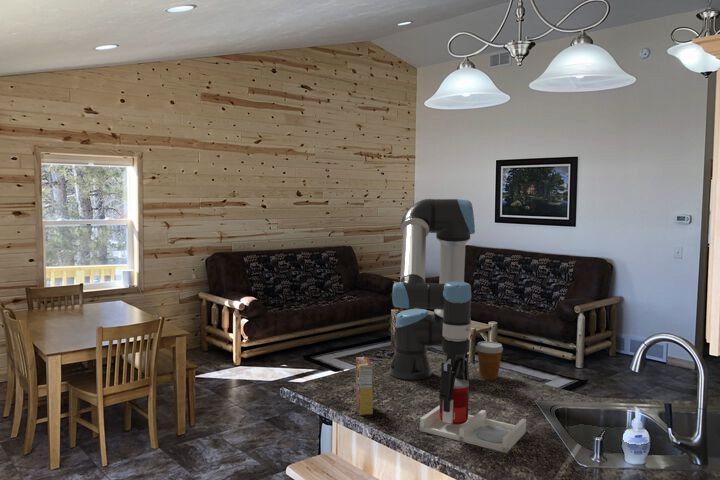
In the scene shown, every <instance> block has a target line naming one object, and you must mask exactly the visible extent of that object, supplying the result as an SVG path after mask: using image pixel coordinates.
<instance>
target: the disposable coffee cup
mask: <svg viewBox="0 0 720 480" xmlns="http://www.w3.org/2000/svg"><path fill="white" fill-rule="evenodd" d="M475 348H476V350H477V357H478V358H477V359H478V371H479V377H480V378H482V379H484V380H497V379H498V376H499V369H500V365H501V359H502V353H503V350H504V348H503V345H502V343H499V342H496V341H485V340H484V341H479V342H477V345H476V346H475Z"/></svg>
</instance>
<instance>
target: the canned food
mask: <svg viewBox="0 0 720 480" xmlns="http://www.w3.org/2000/svg"><path fill="white" fill-rule="evenodd" d="M440 383H441V381H440ZM440 383H439V384H440ZM469 398H470V381H469V382H468V381H467V380H465V379H464V380H461V379H457V378H455V384H454V388H453V395H452V400H453V423H452V424H454V425H458V424H463V423H466V422H467V419H468V414H469V405H470V404H469V401H470V399H469ZM439 405H440V419H441V421H443V399H439ZM444 423H446V422H444ZM447 424H450V423H447Z"/></svg>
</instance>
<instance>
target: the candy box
mask: <svg viewBox="0 0 720 480" xmlns="http://www.w3.org/2000/svg"><path fill="white" fill-rule="evenodd" d="M373 367H374V365H373V364H372V362H371V360H370V358H369V357H368V356H359V357H358V356H357V357H355V390H356V391H355V394H356V395H355V397H356V398H355V399H356V400H355V401H356V402H355V403H356V407H357V410H358V412H359V413H358V414H359V415H361V416H362V415H363V416H364V415H366V416H367V415H368V416H369V415H373V412H374V411H373V410H374V409H373V408H374V407H373V405H374V402H373V401H374V398H373V397H374V396H373V395H374V391H373V390H374V389H373V386H374V385H373V383H374V376H373V374H374V373H373V371H374V370H373Z"/></svg>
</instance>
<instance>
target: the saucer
mask: <svg viewBox="0 0 720 480" xmlns="http://www.w3.org/2000/svg"><path fill="white" fill-rule="evenodd" d="M508 432H509V430H507V429H505V428H503V427H499V426H492V425H486V426H481V427H479V428H477V432H476V435H477V437H478V438H479V439H481V440H483V441H487V442H491V443H502V438H503V437H504V436H505V435H506V434H507V433H508Z"/></svg>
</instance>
